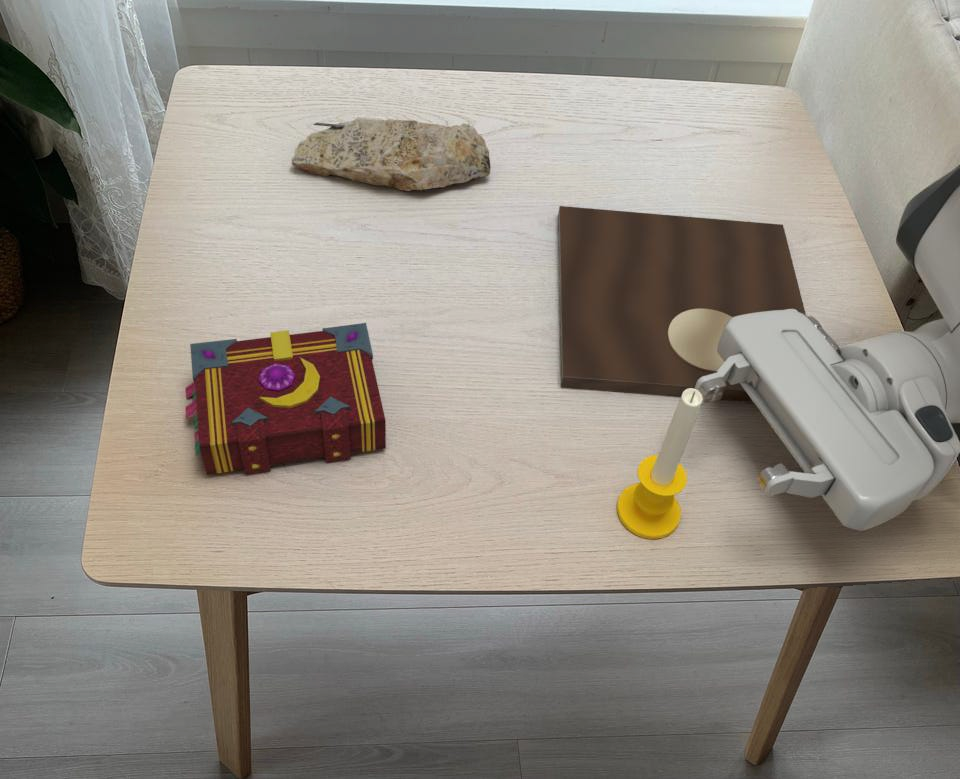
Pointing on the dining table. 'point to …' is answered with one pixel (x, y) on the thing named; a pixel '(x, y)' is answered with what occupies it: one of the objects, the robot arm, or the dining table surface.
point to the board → (661, 295)
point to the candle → (661, 478)
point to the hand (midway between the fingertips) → (730, 435)
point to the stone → (395, 153)
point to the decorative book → (285, 399)
